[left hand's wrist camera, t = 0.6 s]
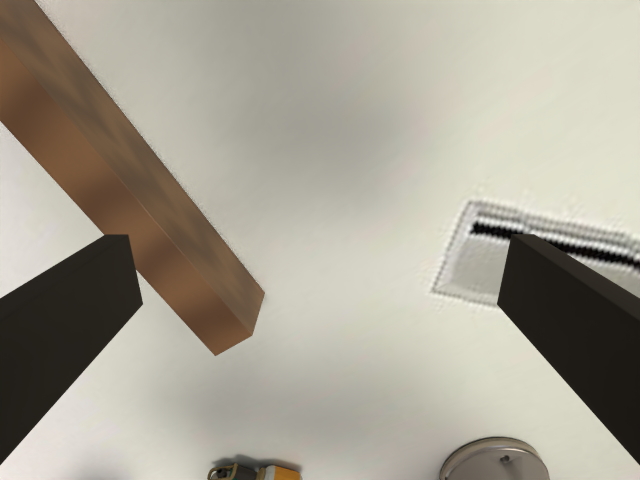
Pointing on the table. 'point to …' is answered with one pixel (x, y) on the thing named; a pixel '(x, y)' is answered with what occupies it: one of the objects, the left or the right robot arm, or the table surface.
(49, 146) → the bar
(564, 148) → the table surface
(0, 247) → the table surface
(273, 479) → the spray gun
